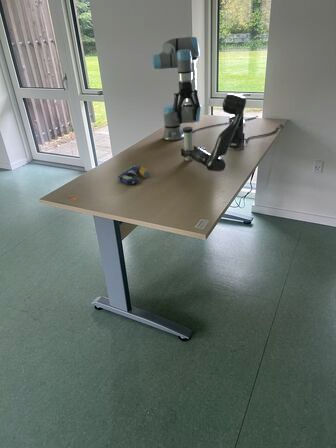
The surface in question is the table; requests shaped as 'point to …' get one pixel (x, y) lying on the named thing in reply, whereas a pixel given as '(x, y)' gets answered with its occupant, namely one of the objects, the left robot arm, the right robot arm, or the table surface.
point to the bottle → (188, 144)
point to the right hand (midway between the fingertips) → (187, 148)
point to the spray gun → (133, 172)
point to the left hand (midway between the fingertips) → (187, 122)
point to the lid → (187, 129)
